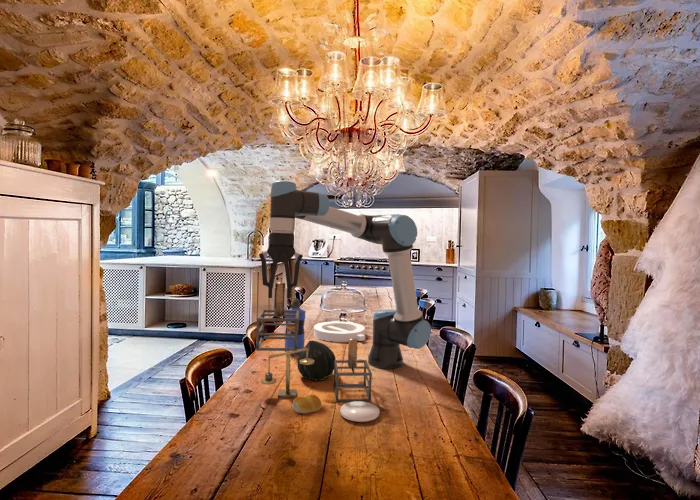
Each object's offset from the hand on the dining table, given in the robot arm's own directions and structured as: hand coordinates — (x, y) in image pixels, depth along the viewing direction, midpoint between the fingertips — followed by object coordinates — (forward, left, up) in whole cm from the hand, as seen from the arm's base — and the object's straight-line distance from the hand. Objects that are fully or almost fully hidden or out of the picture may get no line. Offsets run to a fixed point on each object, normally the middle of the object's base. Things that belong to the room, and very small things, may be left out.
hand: (279, 308), depth 119 cm
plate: (-25, +4, -32) cm, 41 cm away
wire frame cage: (0, 0, -11) cm, 11 cm away
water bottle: (-2, -60, -32) cm, 68 cm away
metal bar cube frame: (-24, -12, -32) cm, 42 cm away
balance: (-2, -11, -32) cm, 34 cm away
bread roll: (-9, -1, -32) cm, 33 cm away
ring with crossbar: (-25, -91, -32) cm, 100 cm away
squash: (-12, -28, -32) cm, 45 cm away
